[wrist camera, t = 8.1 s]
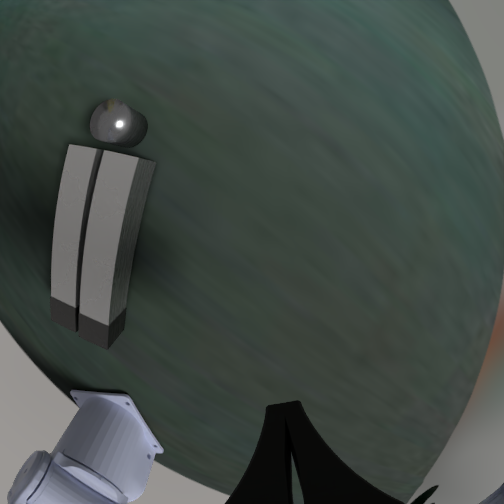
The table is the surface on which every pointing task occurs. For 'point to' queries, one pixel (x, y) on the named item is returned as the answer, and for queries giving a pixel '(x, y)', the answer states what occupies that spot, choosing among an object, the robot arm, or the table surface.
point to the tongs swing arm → (111, 245)
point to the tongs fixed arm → (84, 204)
